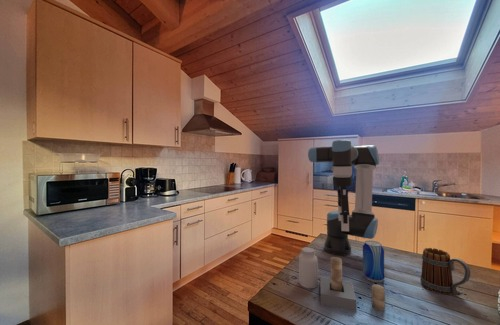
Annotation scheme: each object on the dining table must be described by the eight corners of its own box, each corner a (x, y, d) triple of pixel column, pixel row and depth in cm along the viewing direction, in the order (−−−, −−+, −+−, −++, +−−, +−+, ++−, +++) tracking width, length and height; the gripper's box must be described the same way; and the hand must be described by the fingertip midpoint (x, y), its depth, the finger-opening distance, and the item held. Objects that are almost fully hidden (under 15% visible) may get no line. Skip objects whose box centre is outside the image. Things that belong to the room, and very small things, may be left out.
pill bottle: (303, 290, 87) (303, 253, 87) (296, 279, 95) (296, 246, 95) (321, 288, 88) (321, 252, 88) (312, 277, 96) (312, 245, 96)
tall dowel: (341, 295, 83) (341, 257, 83) (342, 301, 79) (342, 262, 79) (331, 293, 84) (330, 256, 84) (331, 299, 80) (331, 260, 81)
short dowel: (370, 302, 79) (370, 283, 79) (383, 304, 77) (382, 285, 78) (373, 309, 75) (373, 289, 75) (386, 311, 74) (386, 291, 74)
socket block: (320, 286, 89) (320, 277, 89) (351, 291, 85) (351, 281, 85) (320, 304, 78) (320, 293, 78) (356, 311, 74) (356, 300, 74)
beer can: (387, 284, 90) (387, 247, 90) (366, 282, 92) (366, 245, 92) (379, 274, 98) (379, 240, 99) (360, 272, 100) (360, 239, 100)
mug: (414, 283, 91) (414, 248, 91) (429, 278, 95) (429, 245, 95) (462, 306, 76) (461, 264, 76) (477, 298, 80) (476, 259, 80)
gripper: (331, 173, 102) (332, 216, 103) (334, 179, 79) (336, 235, 79) (347, 173, 100) (349, 217, 101) (356, 179, 76) (358, 236, 77)
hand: (343, 225), depth 90 cm, fingers open, 13 cm apart
